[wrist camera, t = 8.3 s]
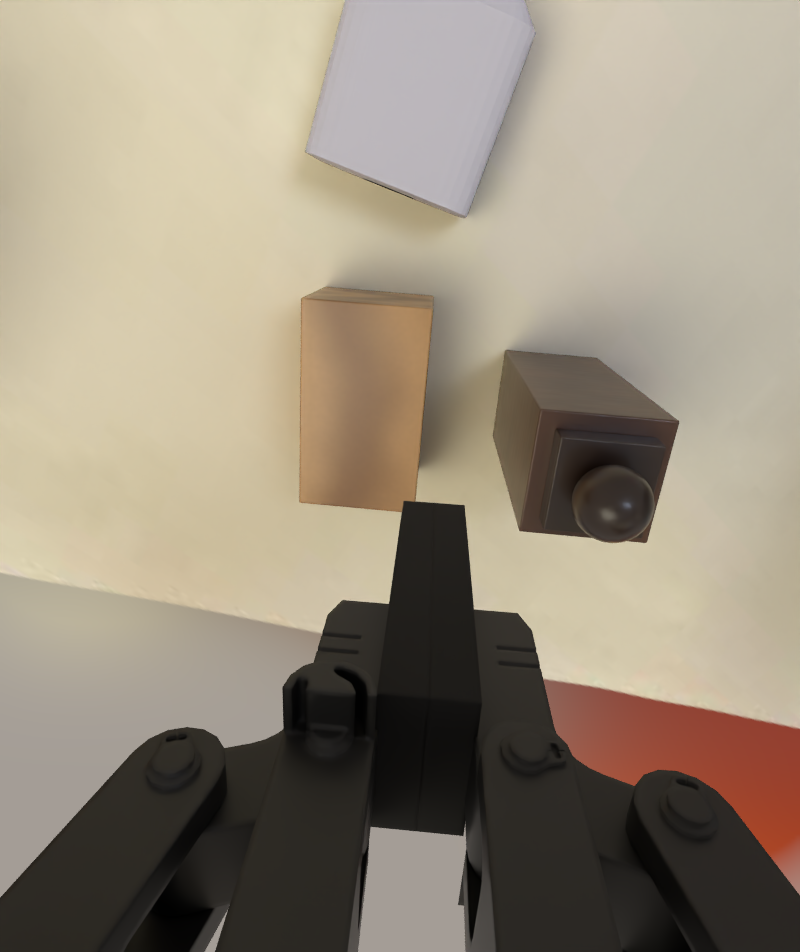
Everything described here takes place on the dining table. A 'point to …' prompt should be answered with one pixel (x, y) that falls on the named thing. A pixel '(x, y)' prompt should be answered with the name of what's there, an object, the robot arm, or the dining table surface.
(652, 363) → the dining table surface
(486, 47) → the charger
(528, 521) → the pepper mill
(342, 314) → the wooden block
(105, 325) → the dining table surface
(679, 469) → the dining table surface
